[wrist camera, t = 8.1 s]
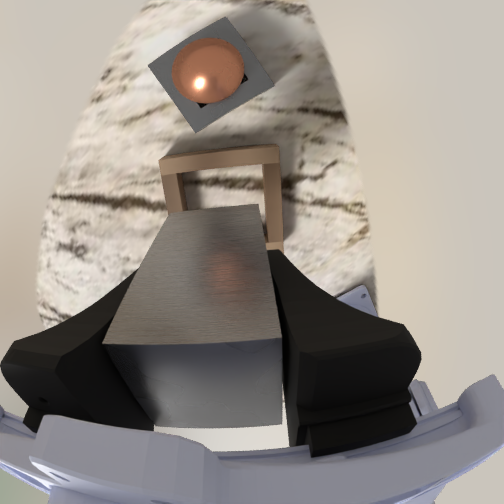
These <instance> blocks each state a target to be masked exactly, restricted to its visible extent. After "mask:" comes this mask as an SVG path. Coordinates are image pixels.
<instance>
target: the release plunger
mask: <svg viewBox="0 0 504 504" xmlns="http://www.w3.org/2000/svg"><path fill="white" fill-rule="evenodd" d="M243 75H244V62H243V59H242V56H241V54H240V53H239V51H238V50H237V49H236V48H235V47H234V46H233V45H232V44H230V43H229V42H227V41H225V40H222V39H218V38H202V39H198V40H195V41H193V42H191V43H189V44H188V45H186V46H185V47H184V48H183V49H182V50H181V51H180V52H179V53H178V54H177V56H176V58H175V60H174V62H173V65H172V80H173V83H174V85H175V87H176V89H177V90H178V91H179V93H181V94H182V95H183V96H184V97H186V98H187V99H189V100H191V101H194V102H198V103H215V102H219V101H222V100H224V99H226V98H228V97H229V96H230V95H232V94H233V93H234V92H235V91H236V90H237V89H238V87H239V86H240V84H241V82H242V79H243Z"/></svg>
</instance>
